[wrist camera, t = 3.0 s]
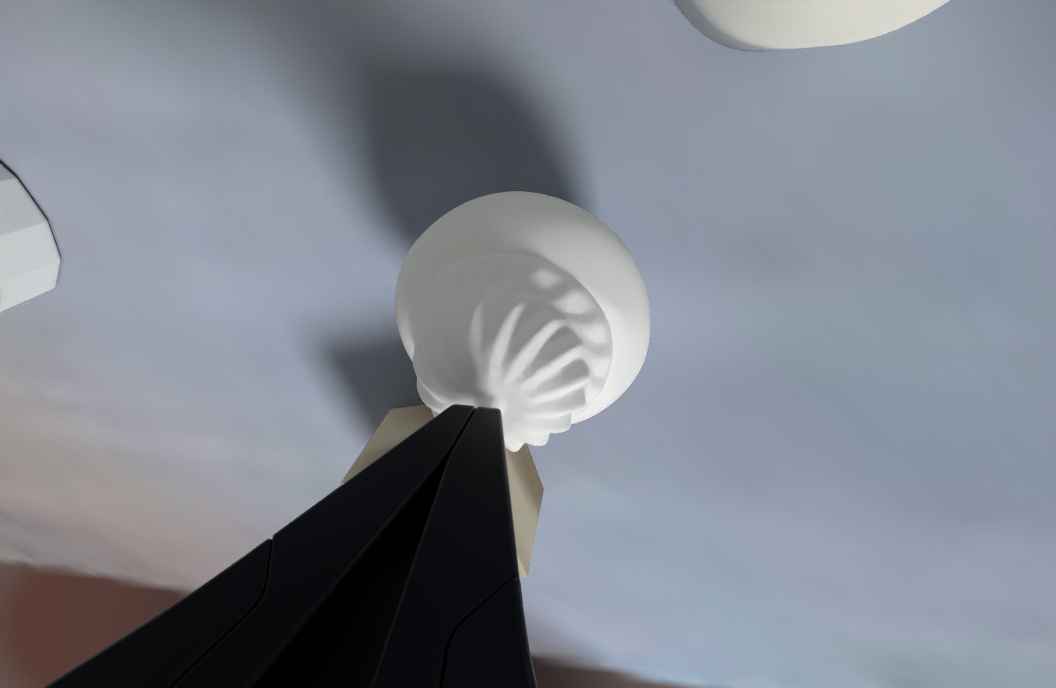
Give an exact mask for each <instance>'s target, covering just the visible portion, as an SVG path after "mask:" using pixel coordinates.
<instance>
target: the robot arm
mask: <svg viewBox="0 0 1056 688" xmlns="http://www.w3.org/2000/svg"><path fill="white" fill-rule="evenodd" d="M43 688H538V687H537V683H536V678H535V674H534V669H533V664H532V660H531V655H530V650H529V643H528V636H527V630H526V623H525V616H524V609H523V601H522V592H521V583H520V580H519V568H518V558H517V549H516V540H515V531H514V522H513V513H512V504H511V495H510V486H509V477H508V468H507V459H506V450H505V441H504V432H503V423H502V414H501V410H500V409H498V408H491V407H478V408H476V407H474V406H471V405H461V404H453V405H451V406H449V407H448V408H447V409H445V410H444V411H442V412H441V413H440V414H438V415H437V416H436V417H434V418H433V419H432V420H430V421H429V422H427V423H426V424H425V425H423V426H422V427H421V428H419V429H418V430H416V431H415V432H414V433H412V434H411V435H410V436H408V437H407V438H405V439H404V440H403V441H401V442H400V443H399V444H397V445H396V446H395V447H393V448H392V449H390V450H389V451H388V452H386V453H385V454H384V455H382V456H381V457H379V458H378V459H377V460H375V461H374V462H373V463H371V464H370V465H368V466H367V467H366V468H364V469H363V470H362V471H360V472H359V473H358V474H356V475H355V476H353V477H352V478H351V479H349V480H348V481H347V482H345V483H344V484H342V485H341V486H340V487H338V488H337V489H336V490H334V491H333V492H331V493H330V494H329V495H327V496H326V497H325V498H323V499H322V500H321V501H319V502H318V503H316V504H315V505H314V506H312V507H311V508H310V509H308V510H307V511H305V512H304V513H303V514H301V515H300V516H299V517H297V518H296V519H294V520H293V521H292V522H290V523H289V524H288V525H286V526H285V527H284V528H282V529H281V530H279V531H278V532H277V533H275V534H274V535H273V538H272V539H267V540H265V541H264V542H263V543H261V544H260V545H259V546H257V547H256V548H254V549H253V550H252V551H250V552H249V553H248V554H246V555H245V556H243V557H242V558H241V559H239V560H238V561H236V562H235V563H234V564H232V565H231V566H229V567H228V568H226V569H225V570H224V571H222V572H221V573H219V574H218V575H216V576H215V577H214V578H212V579H211V580H209V581H208V582H206V583H205V584H204V585H202V586H201V587H199V588H198V589H196V590H195V591H193V592H192V593H190V594H189V595H187V596H186V597H184V598H183V599H181V600H180V601H178V602H176V603H175V604H173V605H172V606H170V607H169V608H167V609H166V610H164V611H163V612H161V613H160V614H158V615H157V616H155V617H154V618H152V619H150V620H149V621H147V622H146V623H144V624H143V625H141V626H140V627H138V628H136V629H135V630H133V631H132V632H130V633H129V634H127V635H125V636H124V637H122V638H121V639H119V640H117V641H116V642H114V643H113V644H111V645H110V646H108V647H106V648H105V649H103V650H102V651H100V652H98V653H97V654H95V655H94V656H92V657H91V658H89V659H88V660H86V661H84V662H83V663H81V664H80V665H78V666H76V667H75V668H73V669H72V670H70V671H68V672H67V673H66V674H64V675H62V676H61V677H59V678H57V679H56V680H54V681H53V682H51V683H50V684H48V685H46V686H45V687H43Z"/></svg>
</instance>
